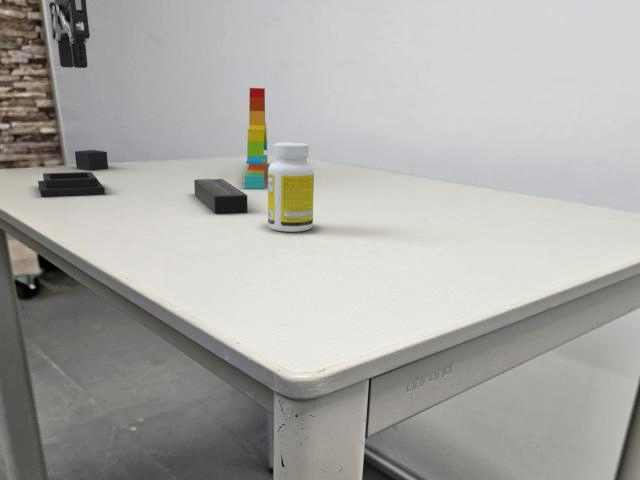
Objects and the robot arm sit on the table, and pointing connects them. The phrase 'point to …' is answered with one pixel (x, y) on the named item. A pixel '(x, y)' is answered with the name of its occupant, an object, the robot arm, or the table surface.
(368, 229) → the table surface
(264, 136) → the chart
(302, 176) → the supplement bottle
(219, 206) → the multiport hub
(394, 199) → the table surface
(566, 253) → the table surface
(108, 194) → the table surface
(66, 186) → the base pad
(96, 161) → the small pad
